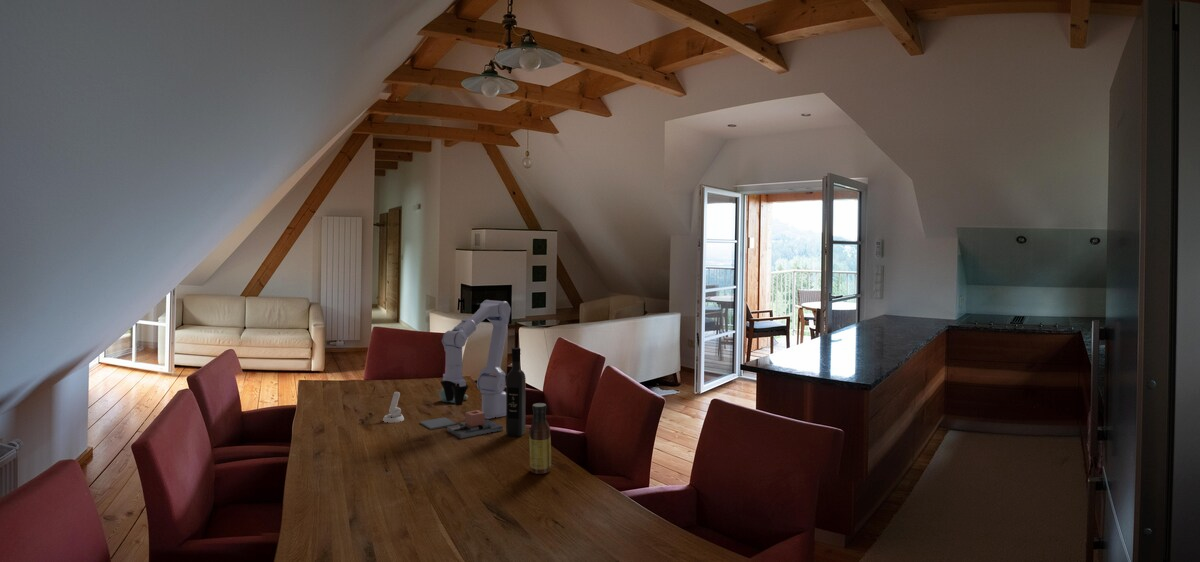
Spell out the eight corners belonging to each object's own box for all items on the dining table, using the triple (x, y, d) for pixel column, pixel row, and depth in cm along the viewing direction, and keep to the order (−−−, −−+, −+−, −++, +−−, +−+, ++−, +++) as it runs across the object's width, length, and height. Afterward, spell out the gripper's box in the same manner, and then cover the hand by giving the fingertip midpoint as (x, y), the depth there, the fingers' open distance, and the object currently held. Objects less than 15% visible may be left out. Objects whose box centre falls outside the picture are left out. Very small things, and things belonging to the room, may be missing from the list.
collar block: (478, 420, 230) (478, 409, 229) (484, 424, 226) (484, 413, 225) (465, 423, 227) (465, 412, 226) (471, 426, 223) (471, 415, 222)
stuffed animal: (472, 389, 265) (443, 386, 260) (469, 406, 265) (440, 404, 260) (466, 384, 275) (438, 381, 270) (463, 400, 275) (435, 398, 270)
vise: (487, 423, 235) (487, 408, 235) (502, 430, 227) (502, 415, 226) (444, 431, 225) (444, 415, 225) (458, 439, 217) (458, 423, 216)
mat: (445, 418, 241) (445, 417, 241) (457, 425, 233) (457, 423, 233) (419, 423, 235) (419, 421, 235) (430, 429, 227) (430, 428, 227)
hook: (409, 400, 247) (410, 393, 242) (402, 430, 241) (402, 424, 235) (389, 396, 246) (389, 390, 240) (381, 426, 239) (381, 420, 234)
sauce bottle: (540, 465, 192) (540, 400, 191) (555, 470, 188) (556, 403, 187) (524, 471, 187) (524, 404, 186) (539, 477, 183) (540, 408, 182)
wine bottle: (520, 437, 219) (521, 350, 218) (505, 436, 221) (505, 349, 219) (526, 432, 225) (526, 347, 223) (510, 431, 226) (511, 346, 224)
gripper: (435, 362, 229) (435, 400, 230) (452, 369, 218) (452, 409, 218) (453, 360, 233) (453, 397, 234) (471, 367, 222) (471, 406, 223)
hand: (454, 402), depth 227 cm, fingers open, 7 cm apart
